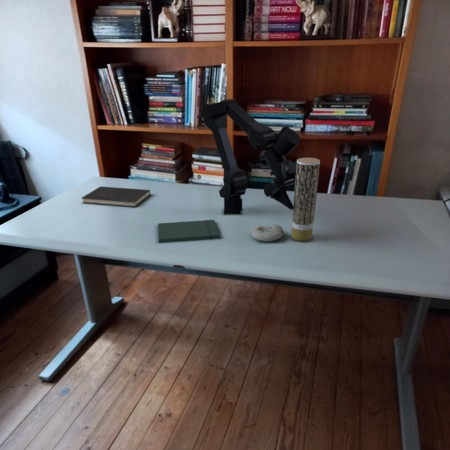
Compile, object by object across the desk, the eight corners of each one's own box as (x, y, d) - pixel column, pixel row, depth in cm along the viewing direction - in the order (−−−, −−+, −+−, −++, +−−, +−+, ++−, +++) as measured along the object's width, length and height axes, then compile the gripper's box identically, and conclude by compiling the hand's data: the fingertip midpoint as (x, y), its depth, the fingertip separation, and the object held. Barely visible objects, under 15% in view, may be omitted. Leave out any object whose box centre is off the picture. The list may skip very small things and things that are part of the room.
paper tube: (315, 237, 138) (324, 159, 125) (305, 244, 134) (313, 164, 120) (297, 232, 142) (304, 156, 129) (287, 238, 137) (292, 161, 124)
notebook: (158, 242, 136) (158, 239, 135) (158, 226, 148) (157, 223, 147) (219, 238, 138) (219, 234, 138) (214, 222, 150) (214, 219, 149)
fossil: (274, 217, 142) (291, 231, 136) (273, 227, 145) (289, 241, 138) (246, 223, 138) (262, 237, 131) (245, 233, 140) (260, 247, 133)
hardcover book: (134, 207, 165) (134, 201, 163) (82, 203, 169) (81, 197, 168) (150, 194, 178) (150, 189, 176) (101, 191, 183) (100, 186, 181)
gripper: (272, 153, 122) (298, 199, 121) (312, 143, 133) (336, 185, 132) (252, 175, 132) (276, 217, 131) (291, 164, 142) (313, 203, 141)
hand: (302, 205), depth 133 cm, fingers open, 9 cm apart
